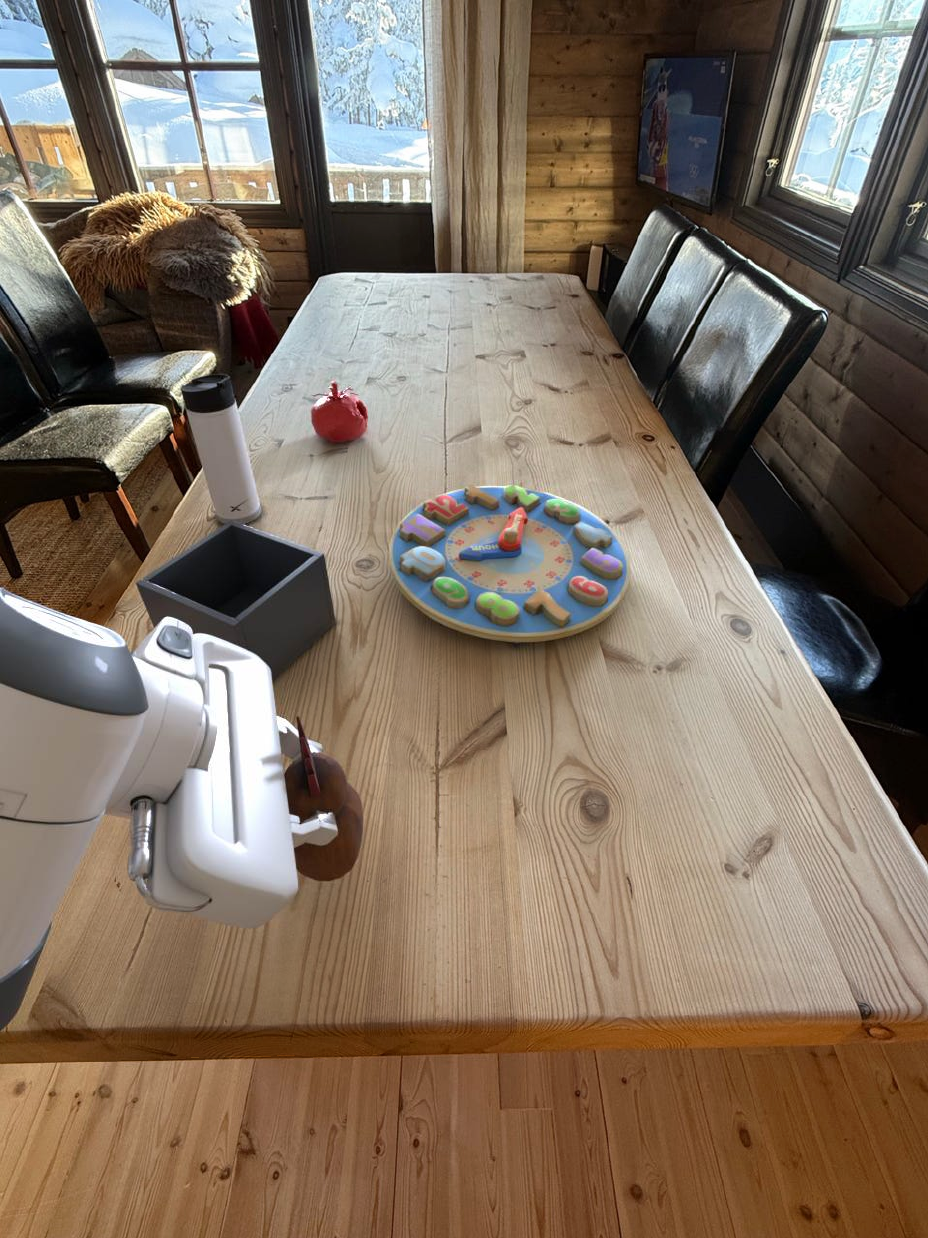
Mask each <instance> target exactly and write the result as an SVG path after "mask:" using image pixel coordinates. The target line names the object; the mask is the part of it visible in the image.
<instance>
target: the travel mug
mask: <svg viewBox="0 0 928 1238" xmlns="http://www.w3.org/2000/svg"><path fill="white" fill-rule="evenodd" d="M232 384H233V383H232V379H231V377H230V376H229V375H228V374H225V373H213V374H206V375H203V376H198V377H195V378H193V379H191V381H189V382H187V383H186V384H182V385H181V386H180V392H181V395H182V399H183V401H184V408H185V411H186V415H187V418H188V422H189V425H190V428H191V432H192V436H193V440H194V442H195V443H194V444H195V447H196V450H197V453H198V457H199V460H200V462H201V467H202V470H203V474H204V477H205V481H206V484H207V488H208V491H209V495H210V498H211V501H212V506H213V509H214V512H215V515H216V519H217V521H219V522H220V523H221V524H223V525H225V524H227V523H228V522H230V521H231V520H232V521H235V522H238V523H240V524H243V525H246V524H249V523H252V522H253V521H256V519H258V518H259V517H260V515H261V513H262V508H261V503H260V498H259V495H258V490H257V486H256V481H255V477H254V473H253V469H252V464H251V460H250V456H249V452H248V447H247V443H246V438H245V435H244V430H243V426H242V422H241V417H240V414H239V413H240V412H239V410H238V409H239V408H238V405H237V401H236V398H235V394H234V389H233V386H232Z"/></svg>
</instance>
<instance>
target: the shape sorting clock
mask: <svg viewBox="0 0 928 1238" xmlns="http://www.w3.org/2000/svg"><path fill="white" fill-rule="evenodd" d="M388 562H389V569H390V572H391V575H392V578H393V581H394V583H395V584H396V586H397V588H398V590H399V591H400V593H401V594H402V595H403V596H404V597H405V598H406V600H408V602H409V603H410V604H412V606H414V608H416V609H417V610H418V611H420V612H421V613H422V614H424V615H425V616H427V617H428V618H429V619H431V620H433V621H435V622H436V623H439V624H441V625H442V626H445V627H447V628H449V629H453V630H455V631H457V632H460V633H464V634H467V635H470V636H474V637H477V638H480V639H481V638H482V639H487V640H493V641H498V642H509V643H514V644H516V645H518V644H519V643H538V642H546V641H547V642H548V641H553V640H558V639H563V638H567V637H571V636H575V635H577V634H579V633H583V632H585V631H588V630H590V629H591V628H593V627H595V626H597V625H599V624H601V623H602V622H603V621H605V620H606V619H607V618H608V617H610V615H612V614H613V613H614V612H615V611H616V610H617V609H618V608H619V606H620V604H621V603H622V602H623V600H624V598H625V596H626V594H627V591H628V588H629V584H630V581H631V577H632V576H631V575H632V567H631V560H630V557H629V555H628V552H627V548H626V546H625V545H624V543H623V542H622V540H621V539H620V537H619V536H618V534H617V533H616V532H615V531H614V530H613V529H612V528H611V526H609V525H608V524H607V523H606V521H604V520H602V519H601V518H600V517H599V516H598V515H596V514H595V513H594V512H592V511H590V510H589V509H587V508H585V507H583V506H582V505H580V504H577V503H576V502H574V501H571V500H568V499H566V498H563V497H561V496H558V495H556V494H553V493H550V492H547V491H541V490H538V489H533V488H527V487H522V486H519V485H515V484H510V485H509V484H508V485H480V486H474V485H473V484H470V485H468V486H465V488H460V489H454V490H451V491H447V492H445V493H442V494H437V495H435V496H434V497H431V498H429V499H427V500H425V501H423V502H421V503H419V504H418V505H417V506H416V507H414V508H413V509H412V510H410V511H409V512H408V513H407V514H406V515H404V517H403V518H402V519H401V520H400V522H399V523H398V525H397V526H396V528H395V529H394V531H393V533H392V534H391V538H390V540H389V545H388Z"/></svg>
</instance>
